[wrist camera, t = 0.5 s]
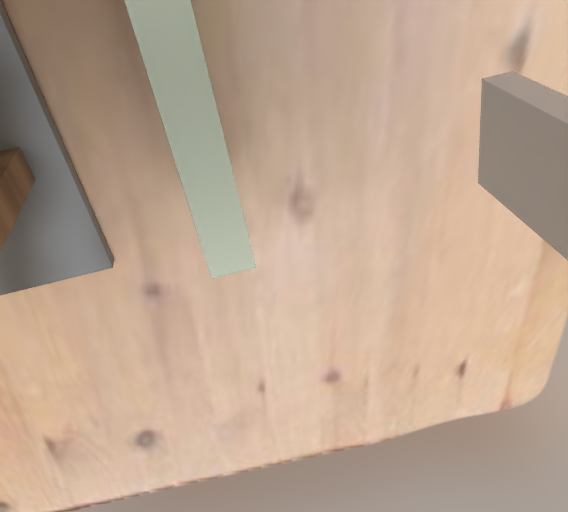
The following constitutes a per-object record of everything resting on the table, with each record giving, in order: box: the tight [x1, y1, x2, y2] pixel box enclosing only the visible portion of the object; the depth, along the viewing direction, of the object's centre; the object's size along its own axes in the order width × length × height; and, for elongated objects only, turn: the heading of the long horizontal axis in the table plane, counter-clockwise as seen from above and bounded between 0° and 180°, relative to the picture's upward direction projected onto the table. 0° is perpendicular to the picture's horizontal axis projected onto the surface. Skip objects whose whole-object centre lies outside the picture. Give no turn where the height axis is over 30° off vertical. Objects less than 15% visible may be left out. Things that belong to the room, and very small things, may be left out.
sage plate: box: [124, 0, 256, 279], centre depth 23 cm, size 15×2×12 cm, turn 10°
